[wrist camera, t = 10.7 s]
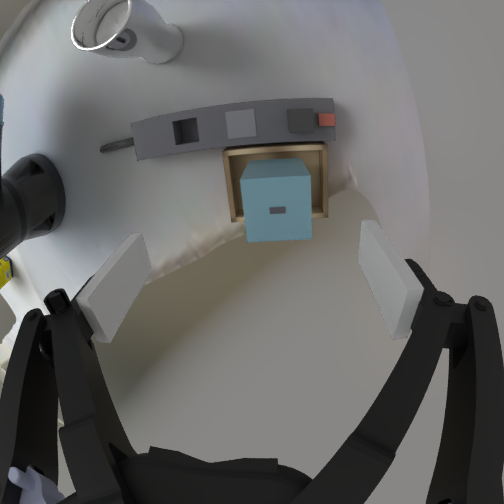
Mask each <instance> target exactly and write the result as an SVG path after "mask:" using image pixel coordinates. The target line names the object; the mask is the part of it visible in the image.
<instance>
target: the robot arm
mask: <svg viewBox="0 0 504 504" xmlns="http://www.w3.org/2000/svg"><path fill="white" fill-rule="evenodd" d="M3 108H4V99H3V96H2V95H1V94H0V260H1V259H2V258H3V257H4V256H5V255H7V254H8V253H9V252H10V251H11V250H12V249H14V248H15V247H16V246H17V245H19V244H20V243H21V242H23V241H24V240H28V239H32V238H36V237H40V236H44V235H46V234H48V233H50V232H51V231H53V230H54V229H55V228H57V227H58V226H59V224H60V223H61V221H62V219H63V216H64V211H65V193H64V188H63V184H62V181H61V178H60V176H59V174H58V172H57V170H56V168H55V167H54V165H53V164H52V163H51V162H50V161H49V160H48V159H47V158H46V157H44V156H42V155H40V154H31V155H28V156H25V157H23V158H21V159H19V160H18V161H17V162H16V163H15V164H14V165H13V166H12V167H11V168H10V169H9V170H8V171H7V172H6V173H5V174H4V175H3V176H2V177H1V143H2V128H3V126H4V122H3ZM358 263H359V265H360V267H361V269H362V271H363V274H364V276H365V278H366V280H367V282H368V284H369V286H370V289H371V291H372V293H373V295H374V297H375V300H376V302H377V304H378V306H379V309H380V311H381V314H382V316H383V319H384V321H385V323H386V325H387V328H388V331H389V333H390V336H391V338H392V340H396V339H402V338H407V337H408V334H409V331H410V329H412V334H411V336H410V338H409V340H408V342H407V344H406V347H405V348H404V350H403V352H402V354H401V356H400V358H399V360H398V362H397V364H396V365H395V367H394V369H393V371H392V373H391V374H390V376H389V378H388V380H387V382H386V383H385V385H384V387H383V388H382V390H381V392H380V393H379V395H378V397H377V398H376V400H375V401H374V403H373V404H372V406H371V407H370V409H369V411H368V412H367V413H366V415H365V416H364V418H363V419H362V421H361V422H360V424H359V425H358V427H357V428H356V429H355V431H354V432H353V433H352V434H351V435H350V436H349V437H348V438H347V440H346V441H345V442H344V443H343V445H342V446H341V448H340V449H339V450H338V451H337V452H336V454H335V455H334V456H333V457H332V458H331V460H330V461H329V462H328V463H327V464H326V466H325V467H324V468H323V469H322V470H321V471H320V473H319V474H318V475H317V476H316V477H315V478H314V479H311V478H310V477H308V476H307V475H306V474H304V473H302V472H300V471H298V470H296V469H294V468H291V467H287V466H284V465H278V459H277V458H267V459H266V458H265V459H264V458H242V459H235V460H229V461H222V462H215V463H208V462H205V461H202V460H199V459H196V458H194V457H191V456H189V455H186V454H183V453H181V452H179V451H173V450H168V449H162V448H157V447H152V446H150V449H149V453H142V454H137V453H136V452H135V451H134V449H133V448H132V446H131V444H130V442H129V440H128V438H127V436H126V433H125V431H124V429H123V427H122V424H121V422H120V420H119V417H118V415H117V412H116V410H115V407H114V405H113V402H112V400H111V397H110V394H109V391H108V388H107V386H106V383H105V380H104V377H103V374H102V371H101V367H100V364H99V361H98V358H97V354H96V351H95V347H94V343H93V342H92V340H91V336H92V335H93V333H94V335H95V336H96V338H97V340H98V341H99V342H106V343H110V342H111V340H112V338H113V337H114V335H115V333H116V331H117V330H118V328H119V326H120V324H121V322H122V321H123V319H124V317H125V315H126V314H127V312H128V310H129V308H130V307H131V305H132V303H133V301H134V300H135V298H136V297H137V295H138V293H139V291H140V290H141V288H142V287H143V285H144V283H145V282H146V280H147V278H148V277H149V275H150V274H151V272H152V267H151V263H150V260H149V257H148V253H147V250H146V246H145V243H144V239H143V236H142V233H132V234H130V236H129V237H128V238H127V239H126V240H125V241H124V242H123V243H122V244H121V245H120V246H119V248H118V249H117V250H116V251H115V252H114V253H113V254H112V255H111V256H110V258H109V259H108V260H107V261H106V262H105V263H104V265H103V266H102V267H101V268H100V269H99V270H98V272H97V273H96V274H94V275H93V276H92V277H90V278H89V279H88V281H87V282H86V283H85V285H83V287H82V288H81V289H80V290H79V292H78V293H77V294H76V295H75V297H74V298H73V299H72V300H71V302H70V300H69V298H68V296H67V294H66V292H65V290H64V289H62V288H61V289H56V290H54V291H52V292H50V293H49V294H48V295H47V296H46V297H45V298H44V303H45V305H46V307H47V309H48V310H49V312H50V315H45V316H44V315H43V313H42V311H41V310H40V309H39V308H36V309H33V310H30V311H29V312H27V314H26V315H25V316H24V318H23V321H22V323H21V326H20V329H19V332H18V335H17V338H16V341H15V344H14V347H13V350H12V353H11V357H10V360H9V364H8V368H7V371H6V375H5V379H4V384H3V388H2V393H1V398H0V504H364V502H365V501H366V500H367V498H368V497H369V496H370V495H371V493H372V492H373V490H374V489H375V487H376V486H377V485H378V483H379V482H380V480H381V479H382V477H383V476H384V475H385V473H386V471H387V470H388V468H389V467H390V465H391V463H392V462H393V460H394V458H395V455H396V454H395V453H396V450H397V448H398V447H399V445H400V443H401V441H402V440H403V438H404V436H405V434H406V432H407V430H408V429H409V427H410V424H411V423H412V421H413V419H414V417H415V415H416V413H417V411H418V408H419V406H420V404H421V402H422V400H423V398H424V395H425V393H426V391H427V388H428V386H429V383H430V381H431V378H432V376H433V373H434V371H435V368H436V366H437V363H438V360H439V357H440V354H441V351H442V348H449V375H448V390H447V400H446V409H445V418H444V425H443V431H442V437H441V442H440V447H439V452H438V456H437V461H436V465H435V469H434V473H433V477H432V480H431V484H430V488H429V491H428V495H427V500H426V504H504V497H503V486H502V471H503V464H504V366H503V358H502V350H501V344H500V339H499V333H498V327H497V323H496V318H495V314H494V309H493V306H492V304H491V303H490V302H489V300H488V299H486V298H484V297H481V296H472V297H471V298H470V300H469V302H468V304H459V303H455V302H454V300H453V298H452V297H451V296H450V295H448V294H446V293H445V292H441V291H437V289H436V288H435V287H434V285H433V284H432V282H431V281H430V279H429V278H428V277H427V276H426V274H425V273H424V271H423V270H422V268H421V267H420V266H419V264H417V263H416V262H415V261H413V260H412V259H403V257H402V256H401V254H400V253H399V252H398V250H397V249H396V248H395V246H394V245H393V244H392V242H391V241H390V240H389V238H388V237H387V236H386V234H385V233H384V232H383V231H382V229H381V228H380V227H379V226H378V224H377V223H376V222H375V220H362V222H361V234H360V245H359V253H358ZM40 349H41V351H40ZM58 398H59V400H60V406H61V411H62V416H63V420H64V427H61V428H60V429H59V437H60V441H61V445H62V449H63V453H64V456H65V460H66V463H67V467H68V469H69V473H70V476H71V479H72V482H73V485H74V487H75V490H76V492H75V493H73V494H72V495H70V496H68V497H67V498H65V497H64V495H63V494H62V493H60V492H59V491H58V488H57V485H58V446H57V419H58Z"/></svg>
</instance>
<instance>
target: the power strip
mask: <svg viewBox="0 0 504 504" xmlns="http://www.w3.org/2000/svg"><path fill="white" fill-rule="evenodd" d="M131 127H132V133H133V138H131V139H127V140H123V141H119V142H115V143H112V144H108V145H105V146H102V147H100V152H101V153H104V152H108V151H111V150H115V149H119V148H123V147H127V146H131V145H135V151H136V156H137V161H139V160H144V159H149V158H154V157H159V156H165V155H171V154H177V153H183V152H190V151H196V150H204V149H211V148H220V147H228V146H238V145H249V144H261V143H275V142H295V141H335V114H334V104H333V98H302V99H278V100H263V101H252V102H242V103H233V104H225V105H218V106H211V107H204V108H198V109H193V110H187V111H182V112H177V113H172V114H167V115H162V116H158V117H154V118H149V119H145V120H141V121H138V122H134V123H131Z"/></svg>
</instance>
